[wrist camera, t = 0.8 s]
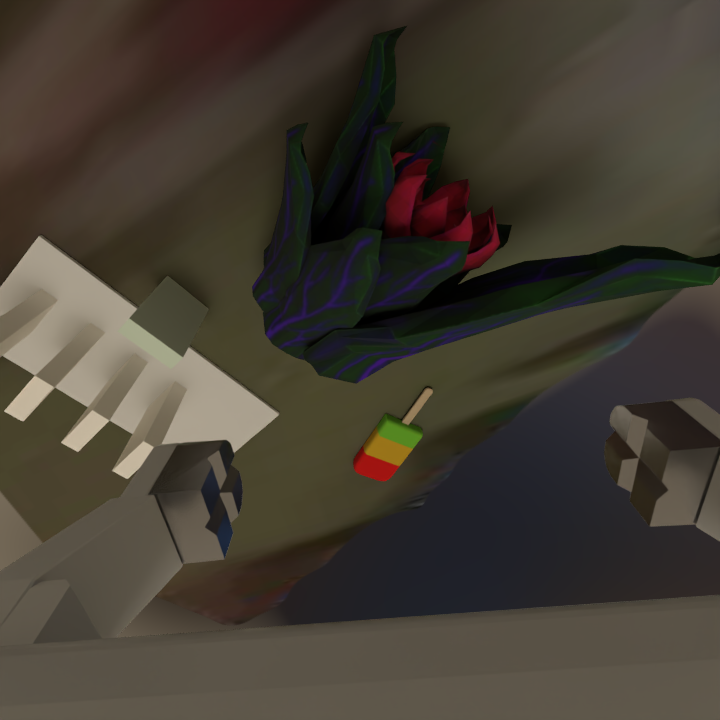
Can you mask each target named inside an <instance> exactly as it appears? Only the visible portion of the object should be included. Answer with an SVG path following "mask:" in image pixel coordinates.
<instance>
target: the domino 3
mask: <svg viewBox="0 0 720 720" xmlns="http://www.w3.org/2000/svg"><path fill="white" fill-rule="evenodd" d="M147 363H148V362H147V361H145V360H144V359H142V358H141V357H139V356H138V355H137V354H135V353H134V354H133V356H132V357H131V358H130V359H129V360H128V361H127V362H126V363H125V364H124V365H123V366H122V367H121V368H120V369H119V370H118V371H117V372H116V373H115V374H114V376H113V377H112V378H111V379H110V380H109V381H108V382H107V383H106V385H105V386H104V387H103V388H102V390H101V391H100V392H99V394H98V395H97V396H96V398H95V399H94V400H93V402H92V403H91V404H90V405H89V407H88V408H87V409H86V411H85V412H84V413H83V415H82V416H81V417H80V418H79V420H78V421H77V422H76V424H75V425H74V426H73V428H72V429H71V430H70V432H69V433H68V434H67V435H66V437H65V438H64V439H63V441H62V442H61V443H63V444H64V445H66V446H68V447H70V448H72V449H74V450H75V451H77V452H78V451H79V450H80V449H81V448H82V447H83V446H84V445H85V444H86V443H87V442H88V441H89V440H90V439H91V438H92V437H93V436H94V435H95V434H96V433H97V432H98V431H99V430H100V429H101V428H102V427H103V426H104V425H105V424H106V423H107V422H108V421H109V420H110V419H111V417H112V416H113V414H114V413H115V411H116V410H117V408H118V407H119V405H120V404H121V402H122V401H123V399H124V398H125V396H126V395H127V393H128V392H129V390H130V389H131V387H132V386H133V384H134V383H135V381H136V380H137V378H138V377H139V375H140V374H141V372H142V371H143V369H144V368H145V366H146V365H147Z"/></svg>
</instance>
